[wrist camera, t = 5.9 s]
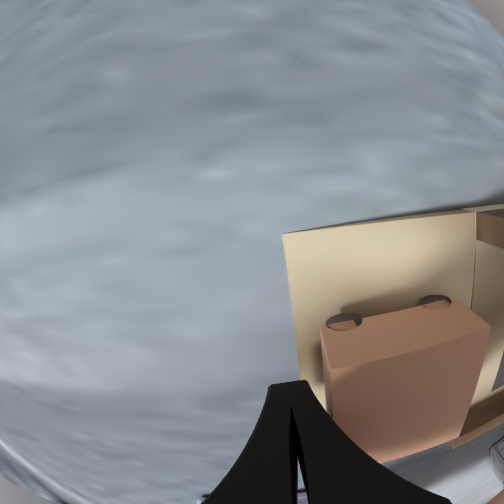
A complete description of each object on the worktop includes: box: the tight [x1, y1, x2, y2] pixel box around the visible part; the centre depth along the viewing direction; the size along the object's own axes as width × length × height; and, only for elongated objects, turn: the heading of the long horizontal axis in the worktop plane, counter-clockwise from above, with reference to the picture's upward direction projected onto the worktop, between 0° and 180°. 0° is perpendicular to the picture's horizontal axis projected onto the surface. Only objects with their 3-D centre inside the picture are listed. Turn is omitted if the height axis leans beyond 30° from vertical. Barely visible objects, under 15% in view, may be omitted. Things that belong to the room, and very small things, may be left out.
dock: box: [282, 204, 504, 450], centre depth 9 cm, size 11×16×3 cm
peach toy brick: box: [320, 295, 491, 463], centre depth 8 cm, size 5×5×3 cm
